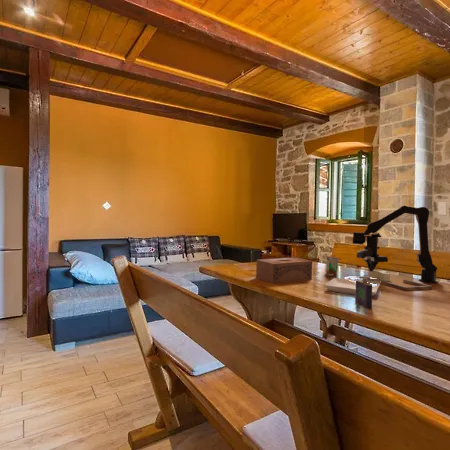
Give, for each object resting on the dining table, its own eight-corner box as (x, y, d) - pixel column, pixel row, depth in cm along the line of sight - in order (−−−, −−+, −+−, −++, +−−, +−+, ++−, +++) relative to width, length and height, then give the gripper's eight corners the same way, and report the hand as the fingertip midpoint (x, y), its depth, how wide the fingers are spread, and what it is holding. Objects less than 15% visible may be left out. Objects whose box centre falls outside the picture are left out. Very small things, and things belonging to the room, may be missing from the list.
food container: (340, 277, 175) (340, 259, 175) (328, 277, 177) (329, 259, 176) (337, 273, 187) (337, 256, 187) (326, 273, 189) (326, 256, 188)
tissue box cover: (293, 274, 183) (294, 257, 183) (311, 279, 170) (312, 261, 170) (256, 278, 171) (256, 259, 171) (272, 283, 158) (272, 263, 158)
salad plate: (380, 289, 151) (380, 282, 151) (375, 299, 132) (376, 291, 132) (333, 283, 162) (334, 277, 161) (323, 292, 143) (323, 284, 143)
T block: (383, 278, 178) (384, 270, 178) (395, 280, 170) (395, 273, 170) (368, 278, 175) (368, 271, 175) (379, 281, 168) (379, 273, 168)
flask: (353, 302, 127) (354, 275, 126) (360, 302, 127) (361, 275, 127) (367, 309, 118) (368, 280, 117) (374, 309, 118) (375, 280, 118)
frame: (405, 282, 167) (405, 279, 167) (432, 289, 152) (432, 286, 152) (380, 283, 163) (380, 280, 163) (404, 290, 148) (405, 287, 148)
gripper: (349, 243, 187) (348, 269, 188) (371, 246, 169) (370, 276, 170) (365, 243, 190) (364, 269, 191) (389, 246, 172) (388, 275, 173)
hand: (371, 272), depth 181 cm, fingers closed
